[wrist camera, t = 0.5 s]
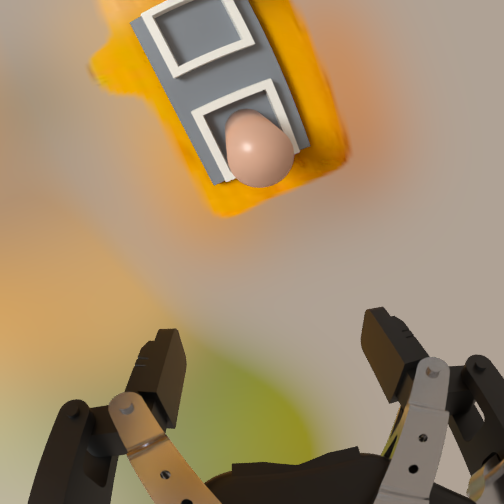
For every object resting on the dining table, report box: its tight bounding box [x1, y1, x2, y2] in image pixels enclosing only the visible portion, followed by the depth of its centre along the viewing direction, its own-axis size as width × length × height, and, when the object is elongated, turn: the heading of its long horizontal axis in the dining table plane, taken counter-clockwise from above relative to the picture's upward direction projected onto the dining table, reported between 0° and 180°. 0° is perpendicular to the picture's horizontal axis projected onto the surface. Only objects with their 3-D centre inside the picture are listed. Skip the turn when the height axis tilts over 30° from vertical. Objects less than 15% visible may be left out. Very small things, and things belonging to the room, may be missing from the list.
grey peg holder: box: [130, 0, 310, 187], centre depth 22 cm, size 24×13×14 cm, turn 23°
